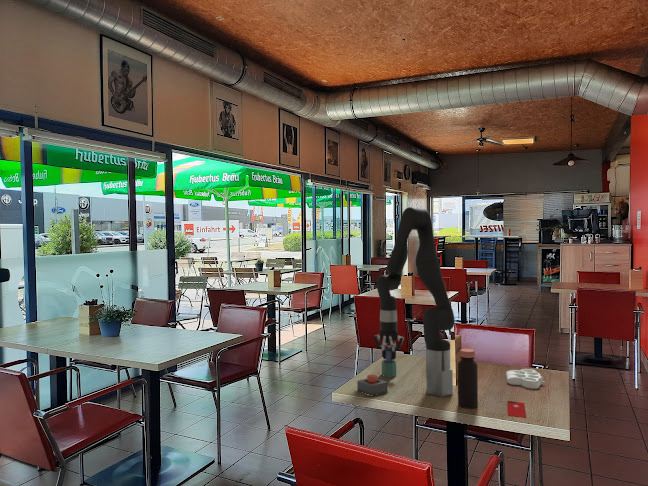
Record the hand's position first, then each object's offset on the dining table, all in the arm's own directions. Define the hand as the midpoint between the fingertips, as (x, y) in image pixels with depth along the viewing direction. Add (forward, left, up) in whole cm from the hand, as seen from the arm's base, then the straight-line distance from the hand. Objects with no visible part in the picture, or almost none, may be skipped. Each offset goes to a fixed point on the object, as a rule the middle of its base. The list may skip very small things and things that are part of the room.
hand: (389, 358), depth 210 cm
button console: (-13, +20, -7) cm, 25 cm away
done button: (-13, +20, -4) cm, 24 cm away
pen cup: (0, 0, -7) cm, 7 cm away
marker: (0, 0, -5) cm, 5 cm away
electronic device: (-57, -9, -8) cm, 58 cm away
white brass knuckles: (-40, -40, -8) cm, 57 cm away
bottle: (-45, +2, -7) cm, 46 cm away
